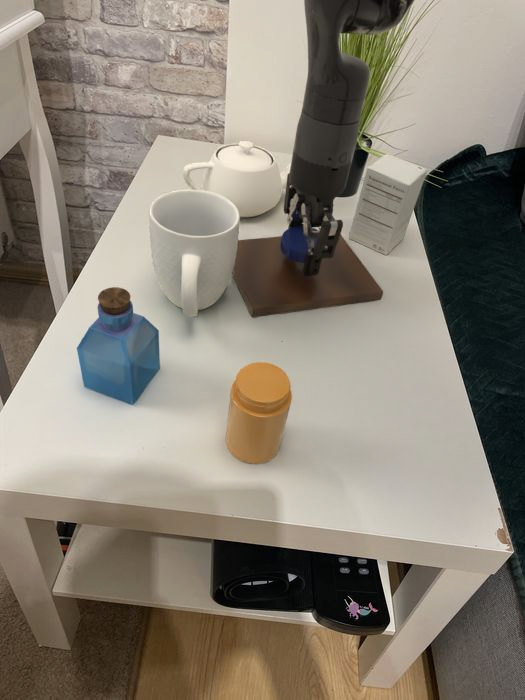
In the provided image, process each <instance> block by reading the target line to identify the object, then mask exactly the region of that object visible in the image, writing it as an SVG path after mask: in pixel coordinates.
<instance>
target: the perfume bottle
mask: <svg viewBox="0 0 525 700" xmlns="http://www.w3.org/2000/svg"><path fill="white" fill-rule="evenodd" d="M131 297H132V295H131V293H130V292H129V291H128V290H127V289H125V288H123V287H119V286H113V287H108V288H105V289H103V290H101V291H100V292H99V293H98V295H97V300H98V304H97V315H98V317H97V319H95V321H94V322H93V323H92V324H91V325H90V326H89V327H88V329H87V330H86V332H85V334H84V335H83V337H82V339H81V340H80V342H79V344H78V345H77V347H76V352H77V357H78V361H79V362H78V363H79V366H80V367H79V368H80V372H81V377H82V382H83V383H82V384H83V387H84V388H86V389H89V390H92V391H94V392H96V393H99V394H102V395H104V396H107V397H110V398H113V399H115V400H118V401H121V402H123V403H125V404H129V405H131V406H134V405H135V404H136V403H137V401H138V399H139V398H140V397H141V395H142V394H143V393H144V391H145V390H146V389H147V387H148V386H149V384H150V383H151V382H152V380H153V379H154V378H155V376H156V374H158V372H159V370H160V369H161V362H160V361H161V360H160V331H159V329H158V328H157V327H156V326H155V325H154V324H152V323H151V322H150V321H149V320H148V319H147V318H146V317H145V316H143V315H141V314H138V313H135V312H134V305H133V302H132V301H131Z"/></svg>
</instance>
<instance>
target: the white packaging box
mask: <svg viewBox="0 0 525 700" xmlns="http://www.w3.org/2000/svg"><path fill="white" fill-rule="evenodd" d="M427 173H428V169H427V168H425V167H423V166H421V165H418V164H416V163H412V162H410V161H407V160H405V159H402V158H399V157H397V156H394V155H392V154H389V153H385V154H384V155H382V156H381V157H380V158H378V159H377V160H376V161H375V162H373V163H372V164H370V165H369V166H368V167H366V171H365V176H364V179H363V183H362V186H361V190H360V193H359V198H358V200H357V205H356V209H355V212H354V216H353V219H352V224H351V227H350V231H349V236H348V238H349V239H350V240H352V241H354V242H356V243H359V244H360V245H363V246H365V247H367V248H369V249H371V250H373V251H376V252H378V253H380V254H383V255H385V256H387V255H388V254H390V252H391V251H393V249H394V248H396V246H397V245H398V244H400V242H401V241H402V240H403V239H404V238H405V235H406V233H407V230H408V227H409V225H410V221H411V218H412V215H413V213H414V210H415V207H416V205H417V201H418V198H419V195H420V193H421V189H422V188H423V187H422V186H423V184H424V181H425V179H426V175H427Z"/></svg>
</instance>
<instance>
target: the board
mask: <svg viewBox="0 0 525 700" xmlns="http://www.w3.org/2000/svg"><path fill="white" fill-rule="evenodd" d="M281 238H282V235H280V236H270V237H269V236H267V237H259V238H247V239H238V244H237V252H236V259H235V264H234V267H233V272H232V275H231V276H232V278H233V280H234V282H235V284H236V286H237V288H238V291H239V292H240V294H241V296H242V299H243V301H244V303H245V306H246V307H247V311H248V312H249V313H250V316H251V318H256V317H263V316H264V317H265V316H270V315H278V314H285V313H286V314H287V313H292V312H300V311H307V310H308V311H309V310H313V309H315V310H316V309H321V308H329V307H336V306H343V305H352V304H358V303H365V302H373V301H380V300H382V298H383V296H384V290H383V289H382V288H381V286H380V285H379V284H378V282H377V281H376V279H375V278H374V277H373V276H372V274H371V273H370V271H369V270H368V269H367V267H366V266H365V265H364V264H363V262H362V261H361V259H360V258H359V257H358V255H357V254H356V253H355V251H354V250H353V249H352V248H351V246H350V245H349V244H348V242H347V241H346V240H345V238H344V237H343V236H342V233H341V234H340V237H339V240H338V243H337V246H336V249H335V252H334V255H333V257H332V258H323V259H322V261H321V265H320V269H319V273H318V274H317V275H313V276H305V275H304V273H303V267H304V263H300V262H295V261H293V260H290V259H289V258H287V257H286V256H285V255H284V254H283V253H282V251H281V250H280V248H281V246H280V245H281ZM327 248H328V246H327Z"/></svg>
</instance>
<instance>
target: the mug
mask: <svg viewBox="0 0 525 700" xmlns="http://www.w3.org/2000/svg"><path fill="white" fill-rule="evenodd" d="M148 215H149V216H148V218H149V220H148V221H149V227H148V228H149V241H150V251H151V259H152V266H153V269H154V273H155V275H156V276H155V277H156V279H157V282H158V284H159V286H160V288H161V291H162V293H163V294H164V295H165V296H166V298H167V299H168V300H169V301H170V302H171V303H172V304H173V305H175V306H177V308H181V309H182V313H183V315H184V316H186V317H188V318H189V317H190V318H195V317H197V316H198V315H199V310H204V309H207V308H209V307H211V306H212V305H214V304H215V303H216V302H217V301H218V300H219V299H220V298H221V297H222V296H223V294H224V292H225V291H226V290H227V287H228V286H229V283H230V281H231V278H232V276H233V275H232V272H233V267H234V264H235V259H236V252H237V244H238V240H239V234H240V219H241V217H240V215H239V211H238V209H237V207H236V206H235V205H234V204H233V203H232V202H231V201H230V200H228V199H227V198H225V197H223V196H221V195H219V194H216V193H213V192H209V191H204V190H194V189H192V188H190V189H177V190H173V191H169V192H168V191H167V192H166V193H163V194H161V195H159V196H158V197H156V198H155V199H154V200H153V201H152V202H151V204H150V206H149V211H148Z"/></svg>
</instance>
